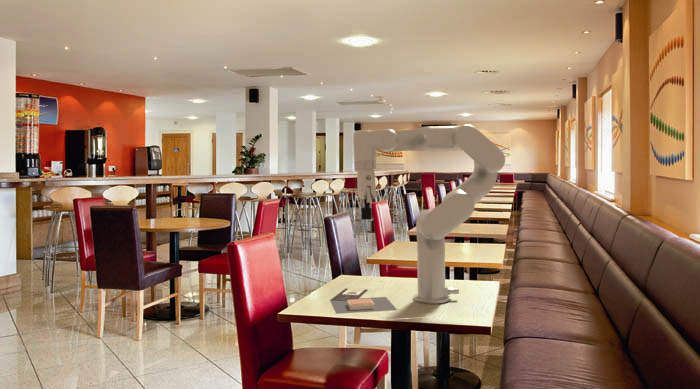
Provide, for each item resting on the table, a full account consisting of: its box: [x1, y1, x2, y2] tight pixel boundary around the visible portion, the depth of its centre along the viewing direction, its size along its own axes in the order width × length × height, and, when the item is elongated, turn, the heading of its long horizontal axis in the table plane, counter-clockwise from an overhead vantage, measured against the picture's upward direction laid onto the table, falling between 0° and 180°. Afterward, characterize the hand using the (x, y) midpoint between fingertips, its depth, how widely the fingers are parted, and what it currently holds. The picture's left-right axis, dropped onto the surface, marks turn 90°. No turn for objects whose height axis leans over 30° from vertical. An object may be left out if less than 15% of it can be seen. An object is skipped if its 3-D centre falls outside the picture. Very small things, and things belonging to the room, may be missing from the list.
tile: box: [347, 299, 374, 310], centre depth 187 cm, size 8×2×7 cm
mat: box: [329, 296, 398, 315], centre depth 189 cm, size 20×18×1 cm
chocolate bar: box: [330, 288, 369, 301], centre depth 204 cm, size 9×1×18 cm
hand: (366, 219), depth 194 cm, fingers closed
